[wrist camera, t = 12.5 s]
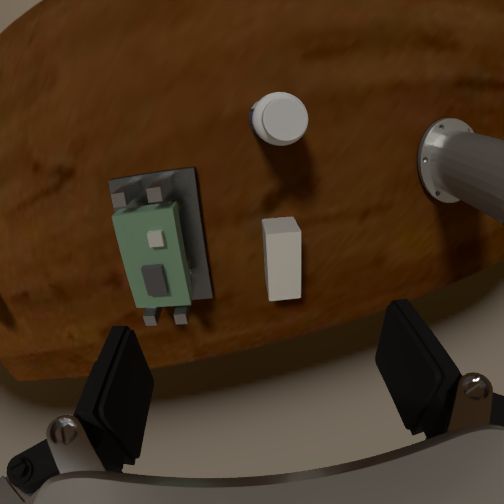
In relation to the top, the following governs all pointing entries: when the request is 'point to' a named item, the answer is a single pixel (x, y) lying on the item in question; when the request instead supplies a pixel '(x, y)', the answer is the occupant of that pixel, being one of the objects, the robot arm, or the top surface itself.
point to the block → (282, 258)
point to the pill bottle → (279, 118)
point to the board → (154, 254)
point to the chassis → (186, 195)
